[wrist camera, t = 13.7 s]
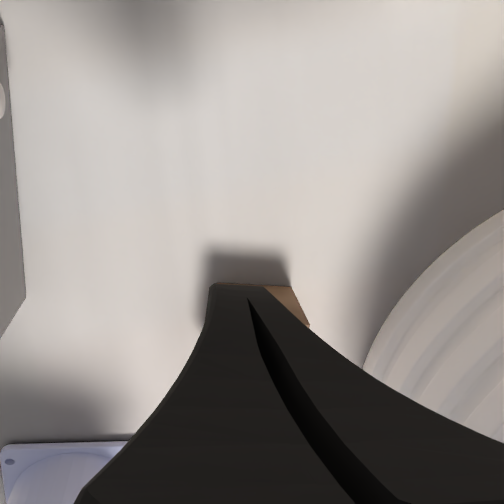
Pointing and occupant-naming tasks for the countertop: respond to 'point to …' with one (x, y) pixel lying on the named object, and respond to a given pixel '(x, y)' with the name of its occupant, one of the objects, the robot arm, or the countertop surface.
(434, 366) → the plate stack
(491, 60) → the countertop surface
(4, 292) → the tray
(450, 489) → the robot arm
